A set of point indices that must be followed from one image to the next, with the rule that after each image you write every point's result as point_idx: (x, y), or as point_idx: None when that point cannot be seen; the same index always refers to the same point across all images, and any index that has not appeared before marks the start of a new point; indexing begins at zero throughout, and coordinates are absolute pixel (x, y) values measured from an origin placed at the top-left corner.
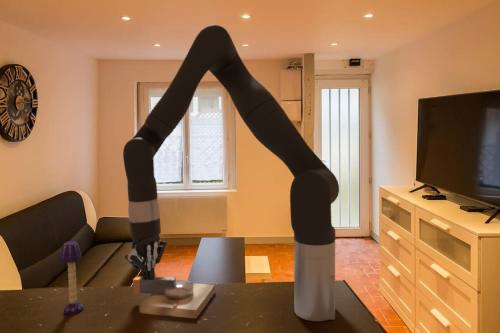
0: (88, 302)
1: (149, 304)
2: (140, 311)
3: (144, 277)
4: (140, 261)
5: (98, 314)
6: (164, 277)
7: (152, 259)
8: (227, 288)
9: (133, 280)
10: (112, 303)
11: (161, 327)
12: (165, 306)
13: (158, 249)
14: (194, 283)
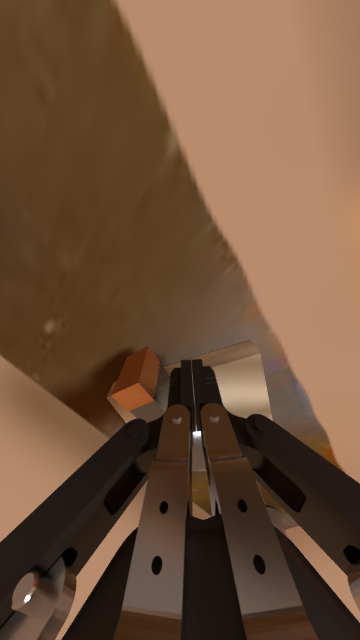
0: (28, 197)
1: (123, 412)
2: (113, 385)
3: (156, 409)
4: (102, 537)
5: (31, 309)
6: (195, 449)
7: (210, 500)
8: (293, 435)
9: (113, 393)
10: (92, 286)
11: (109, 436)
12: None
13: (336, 545)
14: (270, 417)
